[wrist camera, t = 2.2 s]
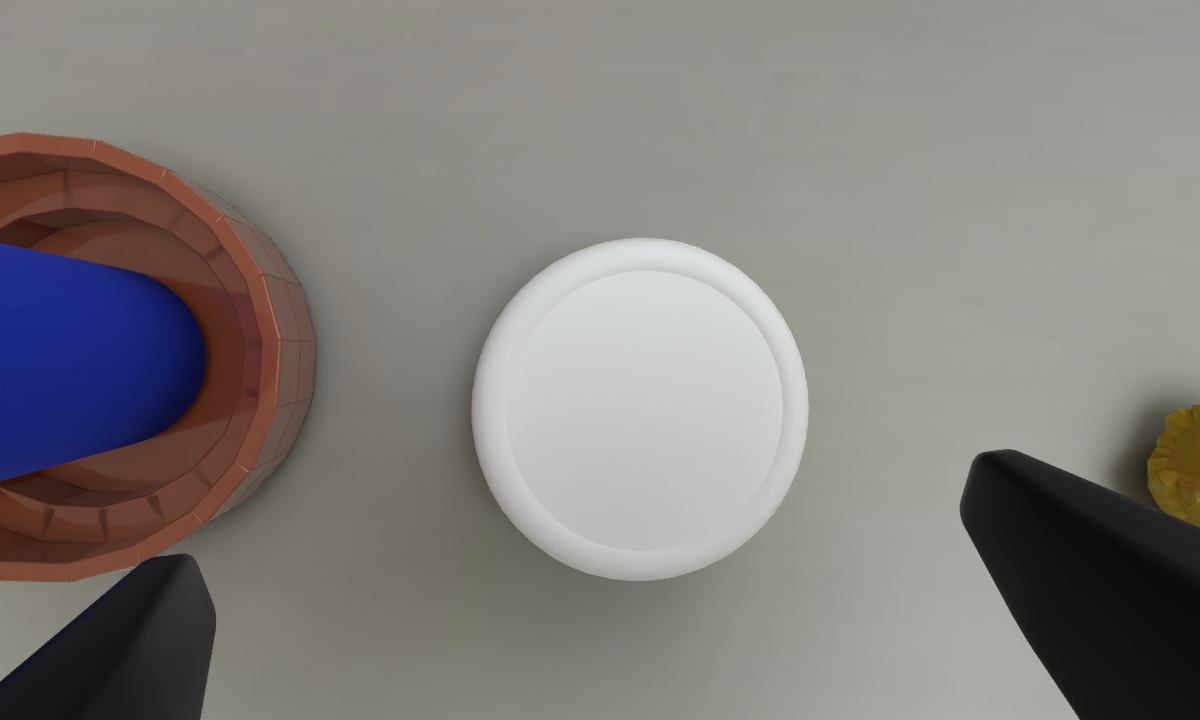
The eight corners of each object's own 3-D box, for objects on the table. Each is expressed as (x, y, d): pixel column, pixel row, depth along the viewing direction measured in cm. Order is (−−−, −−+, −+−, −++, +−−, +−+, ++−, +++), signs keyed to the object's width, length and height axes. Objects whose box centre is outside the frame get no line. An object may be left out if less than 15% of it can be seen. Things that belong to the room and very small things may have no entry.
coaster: (432, 302, 23) (422, 294, 20) (722, 214, 24) (759, 192, 21) (529, 595, 24) (535, 638, 20) (805, 494, 25) (856, 518, 22)
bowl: (153, 612, 22) (78, 670, 18) (-169, 381, 21) (-326, 389, 17) (391, 334, 23) (370, 333, 19) (97, 95, 22) (8, 39, 18)
